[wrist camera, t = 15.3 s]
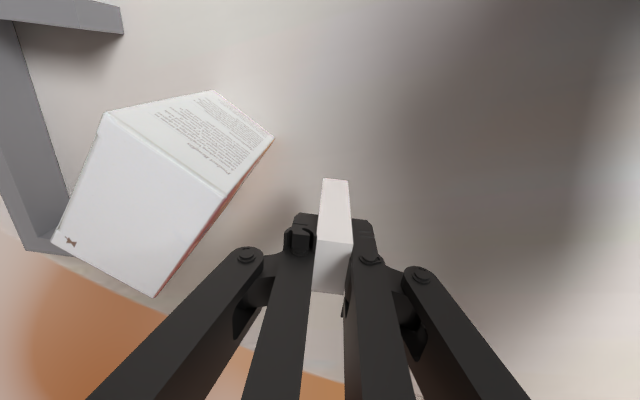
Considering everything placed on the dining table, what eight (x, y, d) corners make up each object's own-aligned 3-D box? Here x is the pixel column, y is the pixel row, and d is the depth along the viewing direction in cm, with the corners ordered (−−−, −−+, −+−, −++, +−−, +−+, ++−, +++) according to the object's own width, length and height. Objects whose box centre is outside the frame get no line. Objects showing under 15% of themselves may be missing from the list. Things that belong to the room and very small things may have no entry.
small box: (225, 208, 24) (152, 303, 15) (165, 168, 23) (43, 245, 13) (278, 136, 21) (229, 199, 12) (213, 85, 20) (98, 109, 10)
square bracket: (-21, -11, 18) (-97, -26, 15) (119, 6, 18) (72, -5, 15) (63, 227, 26) (25, 250, 23) (159, 240, 26) (135, 264, 23)
